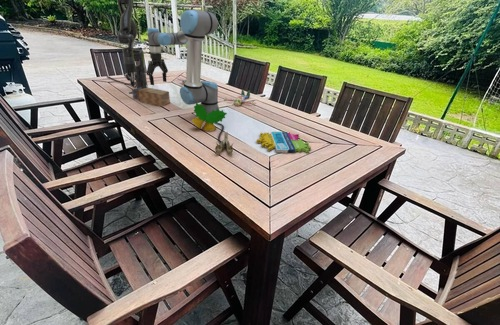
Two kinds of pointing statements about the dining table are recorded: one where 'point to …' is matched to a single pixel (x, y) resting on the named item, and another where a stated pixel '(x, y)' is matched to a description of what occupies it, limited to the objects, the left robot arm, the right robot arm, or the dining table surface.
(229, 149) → the jawbone
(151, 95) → the wooden recessed-top box
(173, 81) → the dining table surface
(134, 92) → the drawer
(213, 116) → the ornament
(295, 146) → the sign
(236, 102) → the toy
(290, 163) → the dining table surface
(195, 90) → the right robot arm
